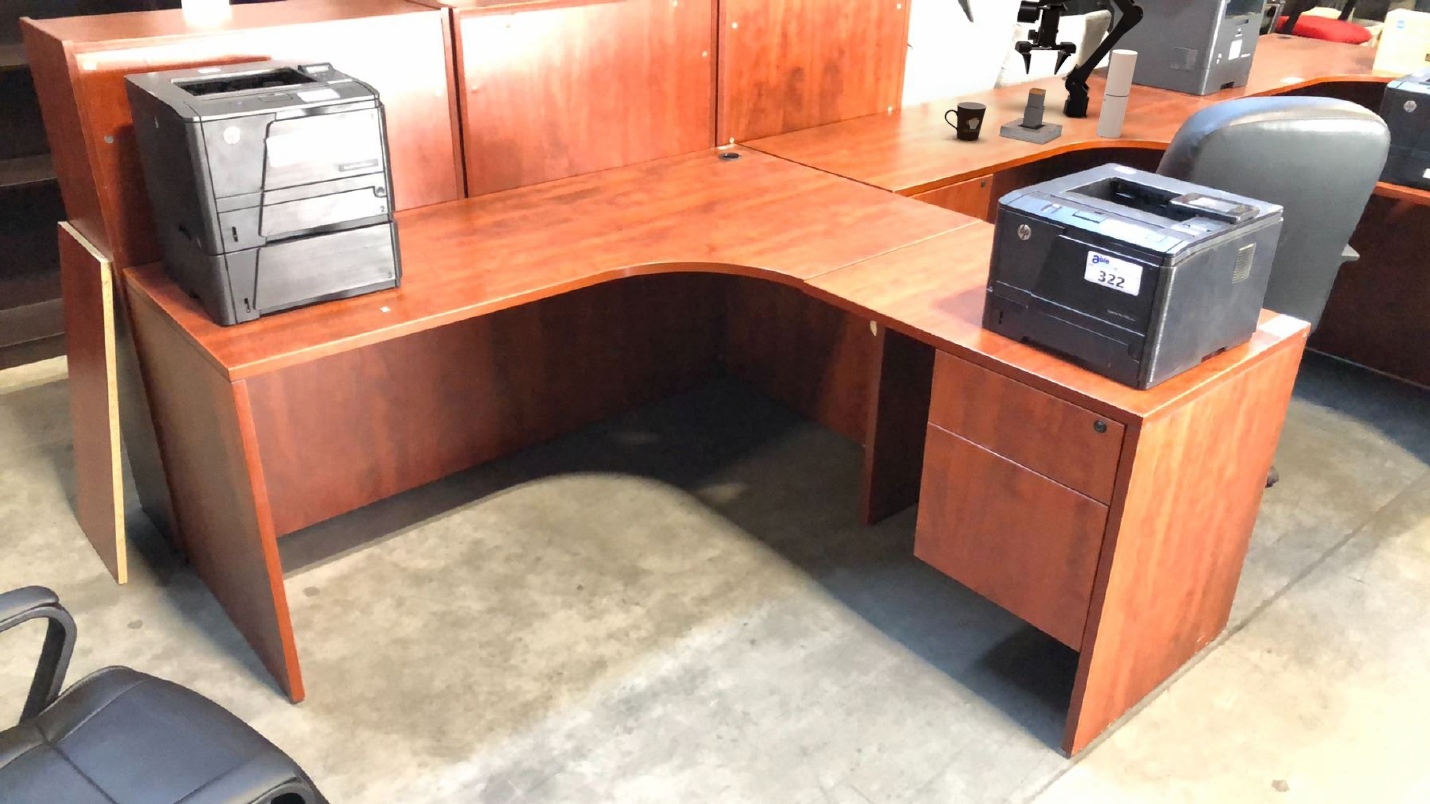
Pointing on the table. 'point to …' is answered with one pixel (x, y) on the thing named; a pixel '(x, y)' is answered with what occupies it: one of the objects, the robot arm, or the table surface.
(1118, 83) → the cylindrical container
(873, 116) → the table surface
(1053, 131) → the silver square socket base
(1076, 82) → the robot arm
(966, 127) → the coffee mug
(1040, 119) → the grey orange-tipped tall block
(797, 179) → the table surface
